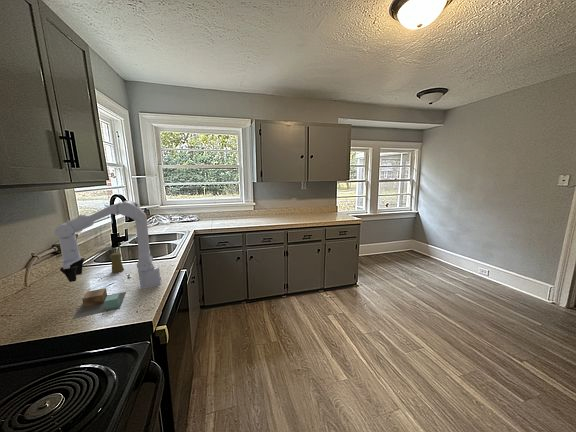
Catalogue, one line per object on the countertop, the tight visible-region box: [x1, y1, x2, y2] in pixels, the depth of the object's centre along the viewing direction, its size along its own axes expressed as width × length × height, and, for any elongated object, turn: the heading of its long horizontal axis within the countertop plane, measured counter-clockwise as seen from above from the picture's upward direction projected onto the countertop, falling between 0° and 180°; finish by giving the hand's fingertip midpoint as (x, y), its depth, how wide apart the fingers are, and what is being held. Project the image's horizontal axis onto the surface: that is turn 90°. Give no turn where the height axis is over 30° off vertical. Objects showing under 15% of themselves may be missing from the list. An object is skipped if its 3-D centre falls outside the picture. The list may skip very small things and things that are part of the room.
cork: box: [109, 252, 125, 274], centre depth 140 cm, size 6×6×11 cm
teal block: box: [104, 293, 121, 310], centre depth 104 cm, size 4×4×4 cm
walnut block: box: [81, 287, 108, 307], centre depth 108 cm, size 7×7×4 cm
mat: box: [71, 291, 127, 320], centre depth 106 cm, size 16×16×1 cm
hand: (75, 277), depth 110 cm, fingers open, 7 cm apart
